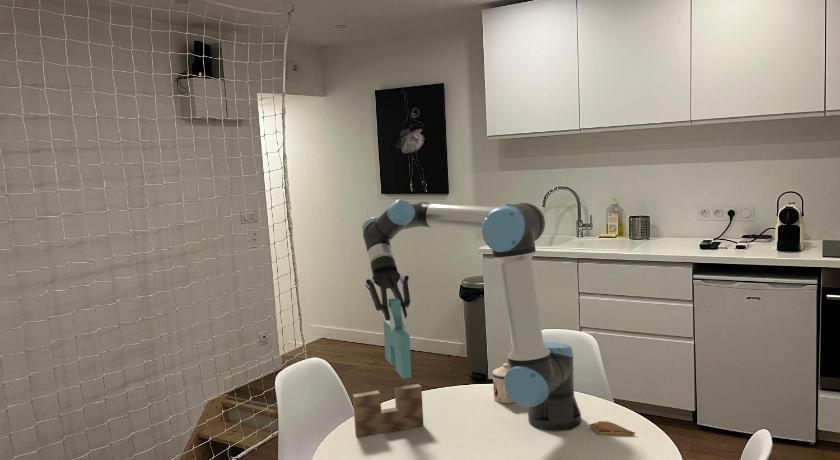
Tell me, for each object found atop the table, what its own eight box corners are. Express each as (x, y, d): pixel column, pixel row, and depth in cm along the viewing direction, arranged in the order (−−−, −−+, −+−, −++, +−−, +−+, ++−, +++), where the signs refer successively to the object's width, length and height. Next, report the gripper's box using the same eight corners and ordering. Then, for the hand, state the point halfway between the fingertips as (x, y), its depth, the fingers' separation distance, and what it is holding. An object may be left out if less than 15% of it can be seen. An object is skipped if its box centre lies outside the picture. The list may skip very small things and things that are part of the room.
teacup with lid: (494, 393, 208) (492, 359, 207) (522, 394, 206) (520, 359, 205) (491, 407, 196) (490, 371, 195) (521, 408, 195) (519, 371, 193)
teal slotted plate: (385, 357, 191) (382, 293, 189) (393, 356, 192) (390, 292, 190) (402, 378, 172) (399, 307, 170) (411, 377, 173) (408, 306, 171)
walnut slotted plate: (421, 422, 188) (418, 383, 186) (423, 425, 185) (421, 386, 184) (355, 434, 182) (352, 394, 181) (357, 437, 179) (354, 397, 178)
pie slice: (635, 438, 171) (635, 431, 170) (615, 445, 167) (615, 438, 167) (606, 424, 180) (605, 418, 180) (586, 431, 176) (586, 425, 176)
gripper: (405, 267, 196) (423, 331, 182) (356, 271, 192) (370, 338, 178) (408, 252, 191) (427, 318, 177) (358, 256, 186) (373, 324, 172)
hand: (399, 328), depth 177 cm, fingers closed on teal slotted plate, 2 cm apart
